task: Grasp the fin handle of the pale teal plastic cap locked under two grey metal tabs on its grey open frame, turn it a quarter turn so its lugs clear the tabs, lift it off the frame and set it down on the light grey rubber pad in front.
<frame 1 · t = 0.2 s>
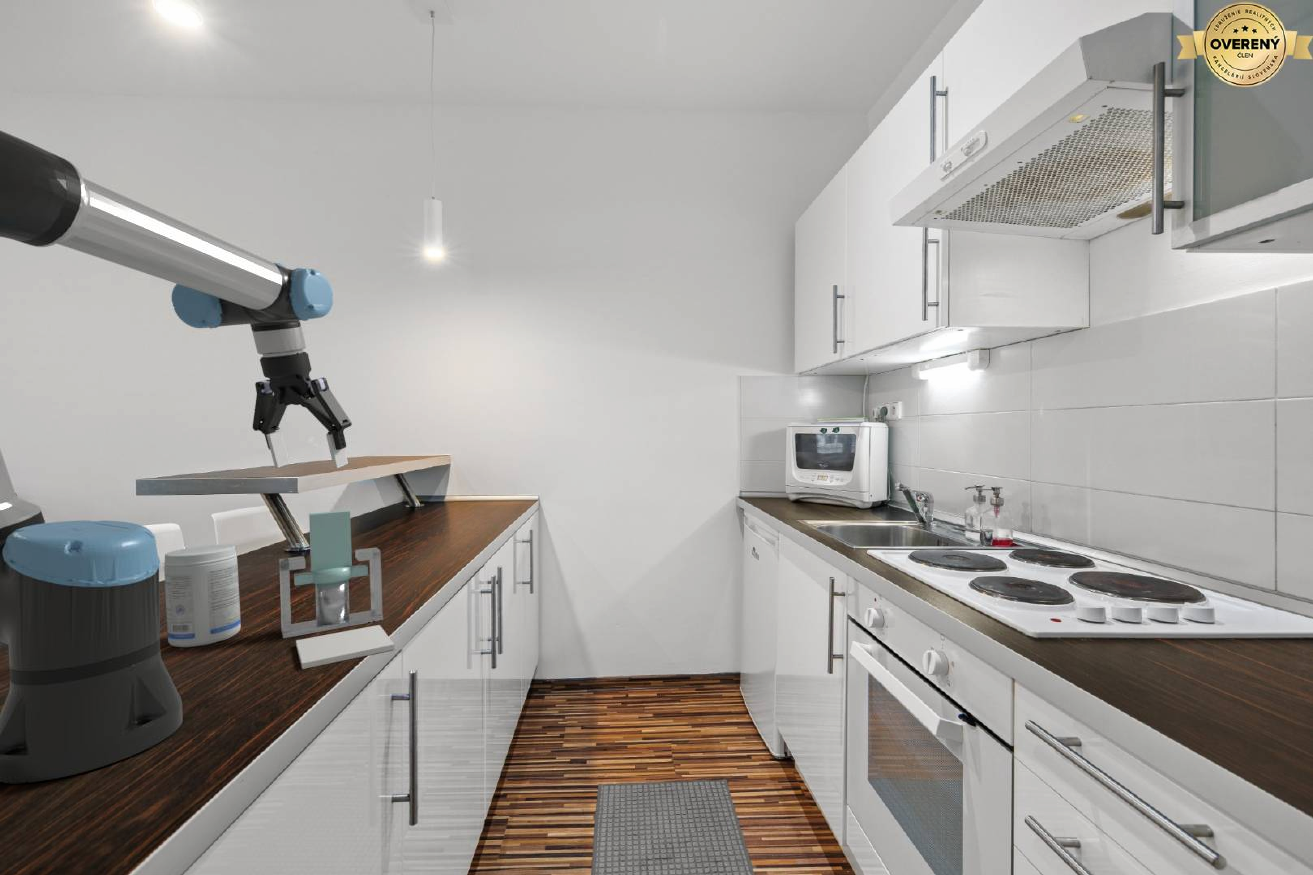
hand: (311, 465, 113), 27 cm above the counter, tool tilted 15°, fingers open, 13 cm apart
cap: (331, 578, 103), point 8 cm above the counter, touching grey open frame
supplement tub: (204, 640, 98), on the counter
grey open frame: (333, 625, 103), on the counter
pad: (344, 647, 92), on the counter
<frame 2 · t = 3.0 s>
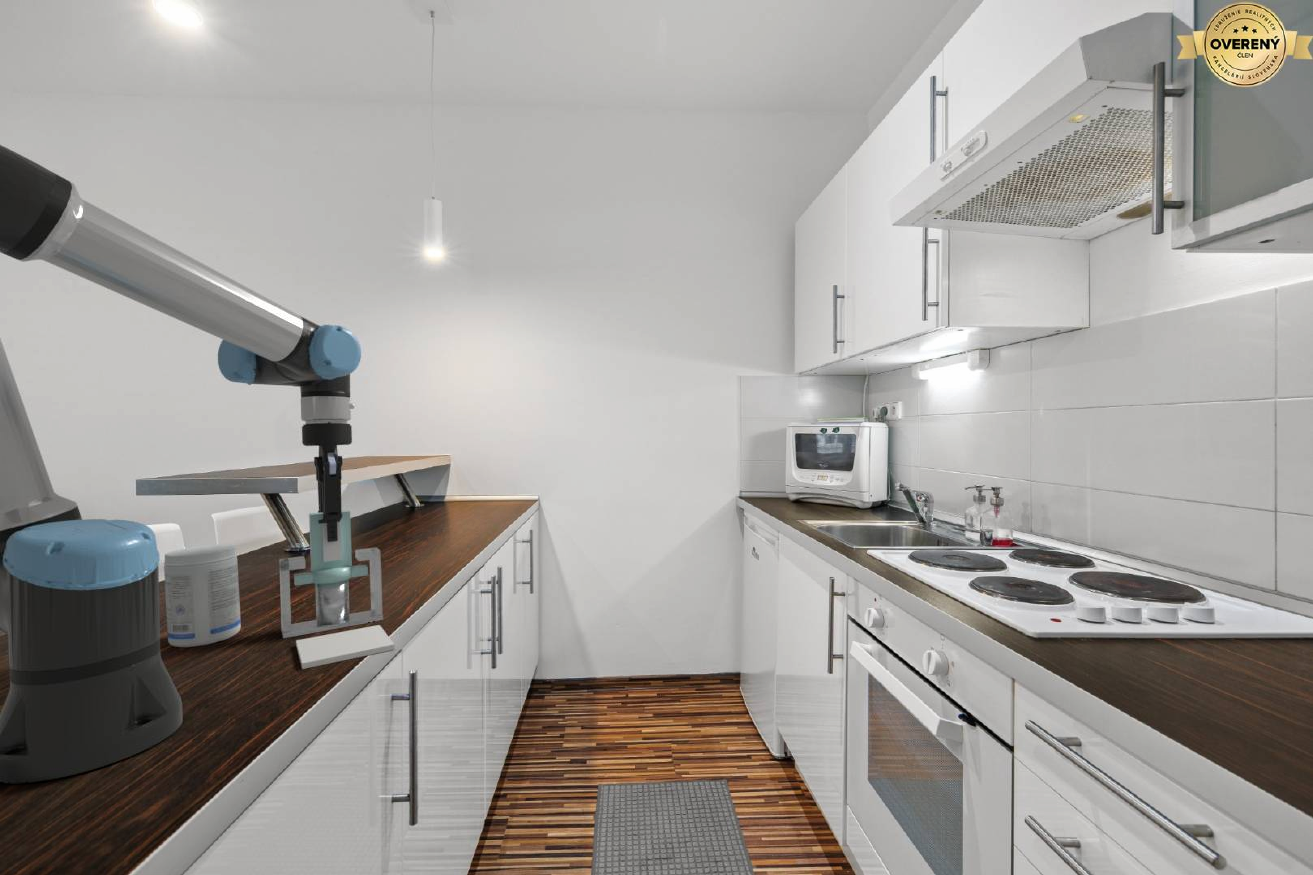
hand: (331, 558, 103), 12 cm above the counter, tool pointing down, fingers closed on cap, 2 cm apart
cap: (331, 578, 103), point 8 cm above the counter, touching grey open frame, gripper
everything else where it was.
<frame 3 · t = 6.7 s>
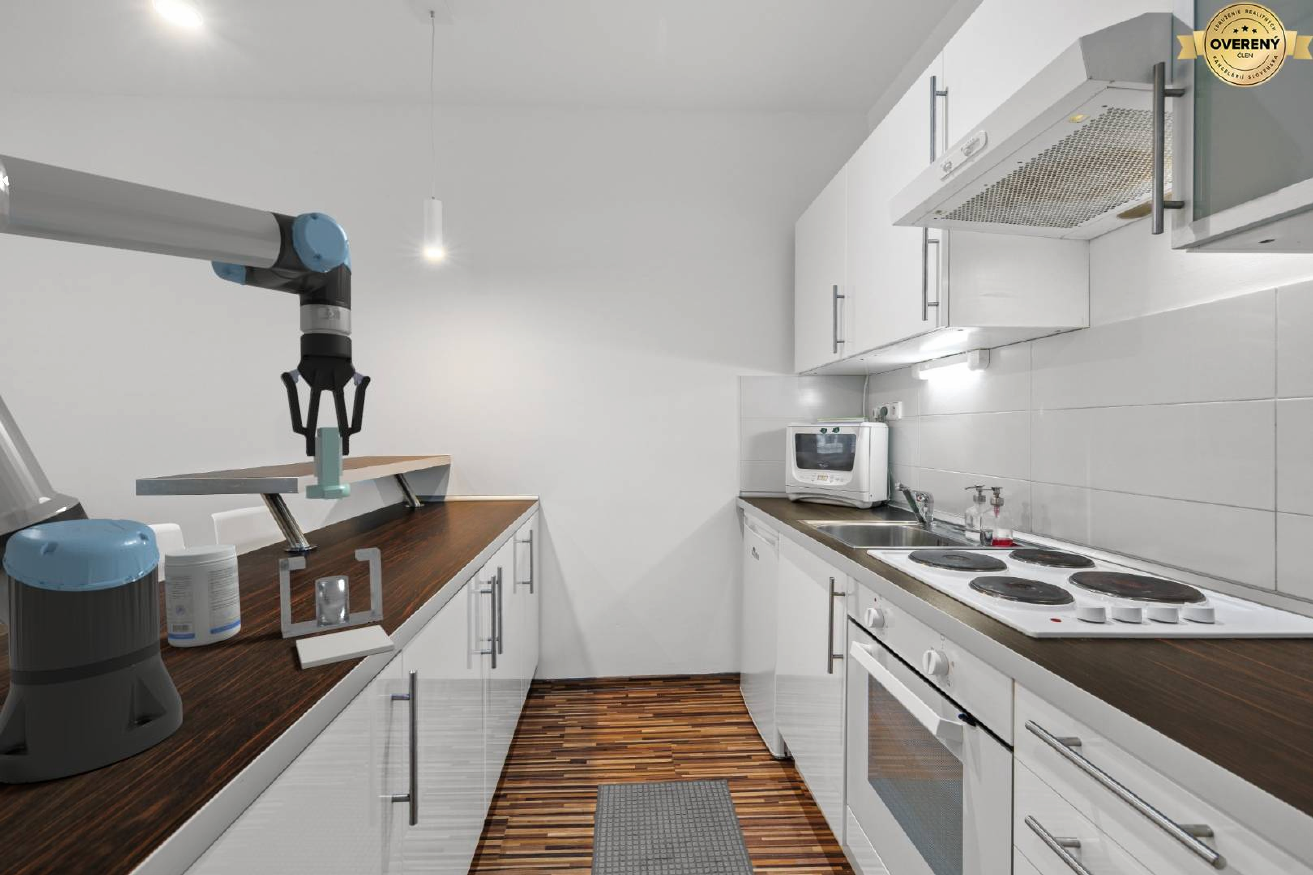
hand: (328, 476, 100), 26 cm above the counter, tool pointing down, fingers closed on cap, 2 cm apart
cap: (328, 497, 100), point 22 cm above the counter, touching gripper
everything else where it was.
when the fingers open (6 cm above the counter, at t = 10.6 s): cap drops 2 cm, resting on pad.
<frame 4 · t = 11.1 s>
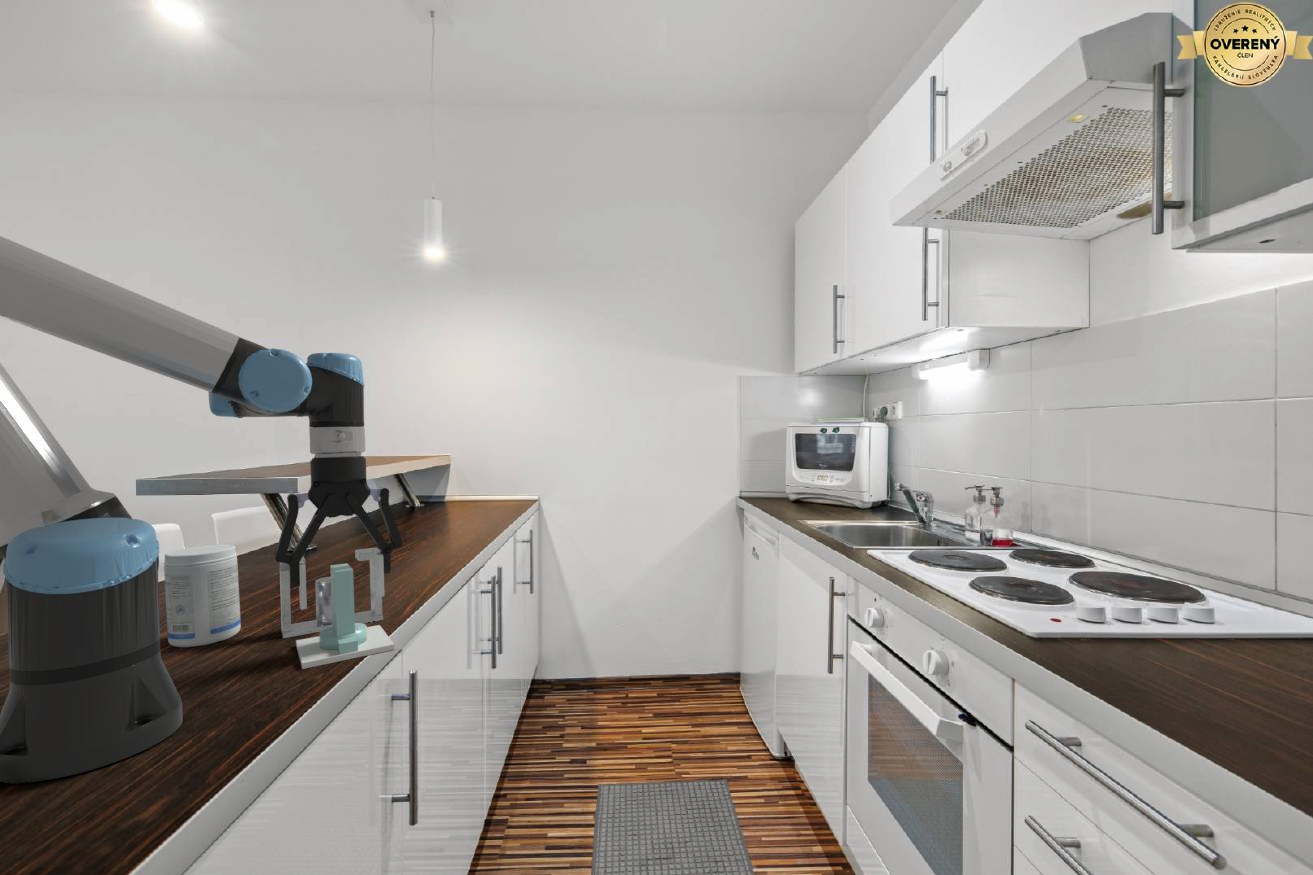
hand: (343, 600, 92), 7 cm above the counter, tool pointing down, fingers open, 10 cm apart
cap: (343, 642, 92), point 1 cm above the counter, touching pad
everything else where it was.
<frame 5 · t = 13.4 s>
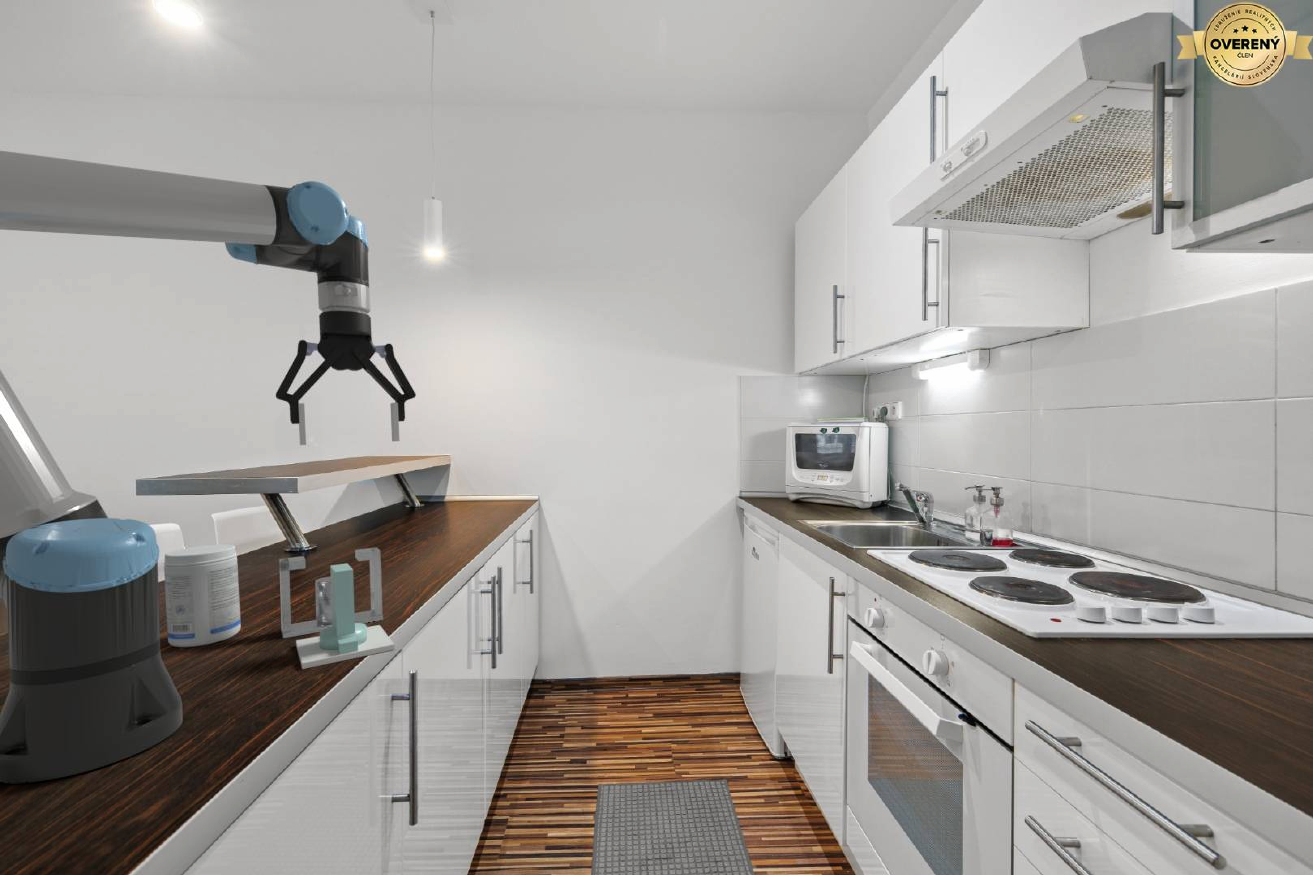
hand: (351, 443, 98), 31 cm above the counter, tool pointing down, fingers open, 13 cm apart
nothing on the counter moved.
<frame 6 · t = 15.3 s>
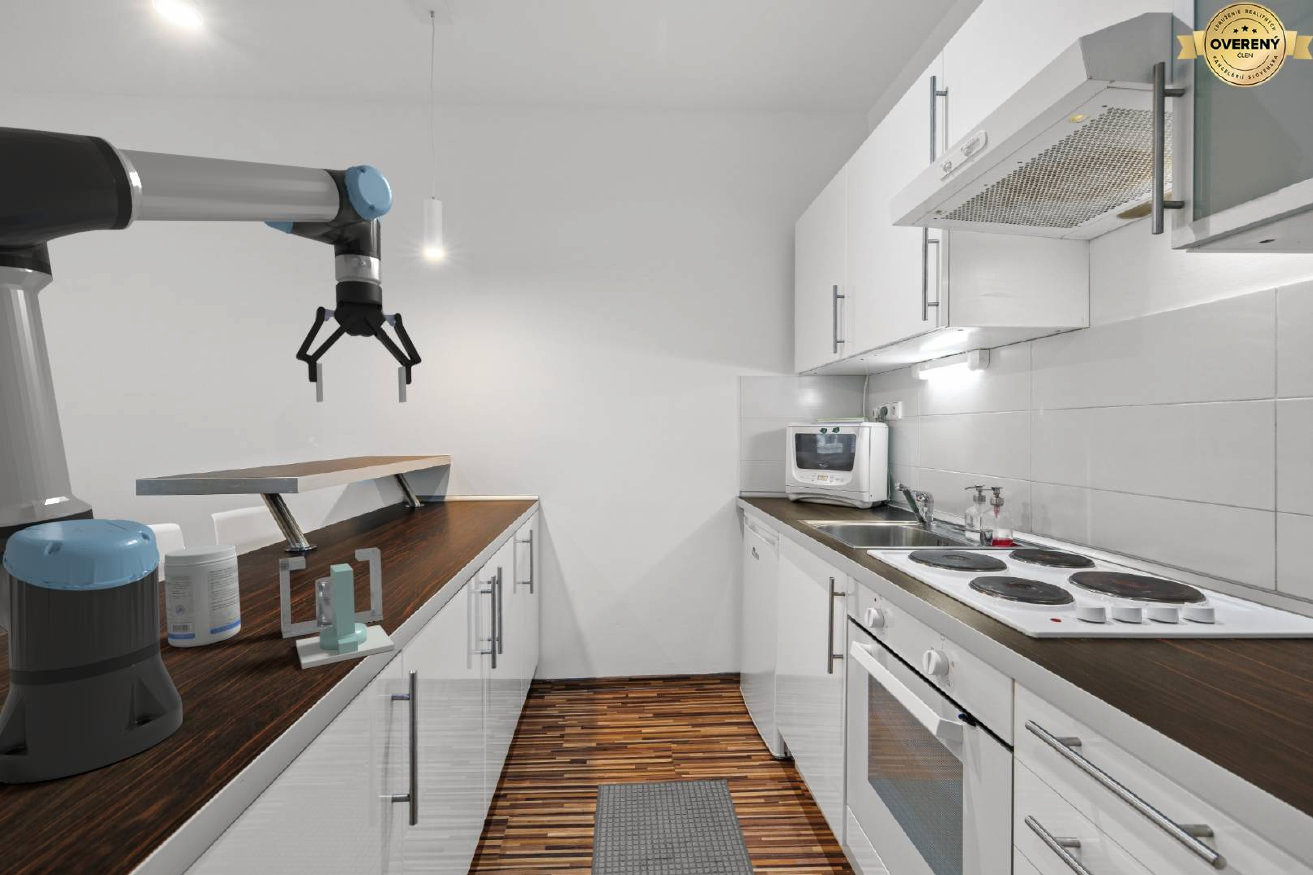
hand: (362, 402, 108), 39 cm above the counter, tool pointing down, fingers open, 13 cm apart
nothing on the counter moved.
at the end: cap inside the target area on the pad (0.1 cm from its centre), point 0.8 cm above the pad's base; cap tilted 0°; the gripper is holding nothing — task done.
